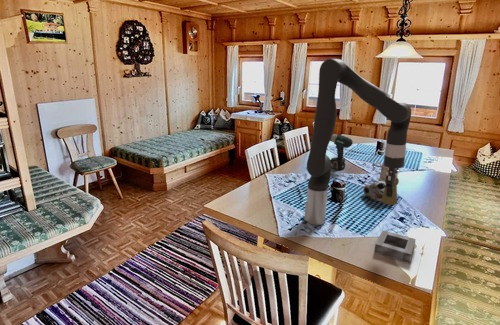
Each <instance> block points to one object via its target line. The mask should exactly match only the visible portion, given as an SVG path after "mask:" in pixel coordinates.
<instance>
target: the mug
mask: <svg viewBox="0 0 500 325" xmlns="http://www.w3.org/2000/svg"><path fill="white" fill-rule="evenodd" d="M377 164H378V165H379V168H380V171H379V170H376V169H375V165H377ZM372 168H373V170H374V172H377V173H378V174H379V177H378V179H377V180H378V181H385V178H386V173H387V171H388V169H389V168H388V167H386V166H384V164H383V163H382V164H381V162H380V161H376V162H375V163H374V164H373V165H372Z"/></svg>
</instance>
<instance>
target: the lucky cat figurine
mask: <svg viewBox="0 0 500 325" xmlns="http://www.w3.org/2000/svg"><path fill="white" fill-rule="evenodd" d="M385 185H386V183H385V181H380V180H377V181H374V182H373V183H371V184H366V185H365V186H364V187H363V193H364V195H365V197H366V198H368V199H369V200H370V201H374V202H382V201H381V200H382V196H383V193H384V189H385Z"/></svg>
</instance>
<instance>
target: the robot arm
mask: <svg viewBox="0 0 500 325" xmlns="http://www.w3.org/2000/svg"><path fill="white" fill-rule="evenodd" d="M338 83H339V84H341V85H344V86H346V87H348V88H349V89H350V90H352V91H353V93H355V94H356V95H357V96H358V97H359V99H361V100H363V101H364V102H365V103H366V104H368V105H369V106H371V107H372V108H374V109H375V110H377V111H378V112H379V113H380V114H381V115H383V117H385V118H386V119H387V120H389V121H390V125H389V126H390V127H389V128H388V130H387V133H386V134H387V135H386V142H385V143H386V144H385V147H384V153H383V163H382V164H384V166H386V167H388V168H389V169H388V171H387V173H386V186H385V187H386V188H387V191H386V196H387V197H392V192H393V188H394V187H393V186H394V183H395V182H396V177H397V178H398V177H399V176H398V175H399V173H400V172H399V171H400V170H399V169H402V168H404V166H405V160H406V153H407V152H406V151H407V141H408V140H407V137H408V129H409V126H410V122H411V118H412V108H411V106H410V105H409V104H408V103H406V102H398V101H396V100H395V99H393V98H392V97H391V95H390V94H389V93H388V92H386V91H385V90H383V89H381V88H380V87H378V86H376V85H375V84H373V83H372V82H370V81H368V80H367V79H365V78H363V77H362V76H360V75H359V74H358V73H357V72H355V70H353V69H352V68H351V67H350V66H349V65H348V64H347V63H346V62H344V61H343V60H342V59H340V58H327V59H325V60H324V61H323V62H322V63H321V64H320V68H319V73H318V93H317V99H316V100H317V101H316V106H315V107H316V108H315V113H314V120H313V129H312V135H311V143H310V149H309V154H308V157H307V161H306V170H307V172H308V175H309V176H310V178H309V180H308V182H307V196H306V201H305V203H304V218H303V219H304V221H305V222H307V223H308V224H310V225H314V226H319V225H324V224H325V223H326V216H327V205H328V204H327V200H328V188H329V184H330V181H331V172H332V168H331V158H330V156H328V155H327V150H328V146H329V144H330V142H331V141H330V139H331V137H332V135H333V134H334V133H335V129H336V123H337V117H338V116H337V115H338V114H337V113H338V110H337V104H336V91H337V90H336V89H337V85H338ZM393 180H394V181H393ZM388 184H391V185H388Z"/></svg>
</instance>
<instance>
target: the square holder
mask: <svg viewBox="0 0 500 325" xmlns="http://www.w3.org/2000/svg"><path fill="white" fill-rule="evenodd" d="M416 239H417V238H412V237H411V236H410V237H409V236H405V235H402V234H399V233H394V232H390V231H386V230H383V229H382V231H381V232H380V234H379V236H378V239H377V241H376V242H375V244H374V245H375V246H374V251H373V252H374V253H375V254H377V255H381V256H384V257H388V258H391V259H394V260H397V261H401V262H404V263H408V264H410V263H411V259H412V256H413V253H414V250H415V245H416Z"/></svg>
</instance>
